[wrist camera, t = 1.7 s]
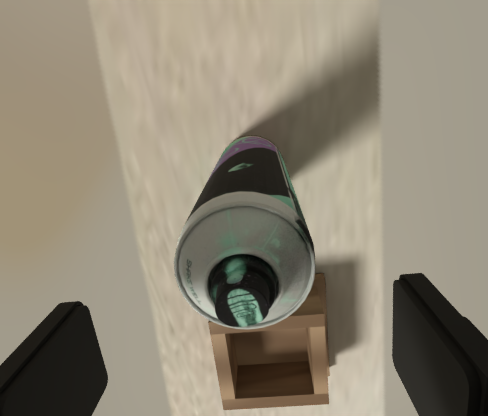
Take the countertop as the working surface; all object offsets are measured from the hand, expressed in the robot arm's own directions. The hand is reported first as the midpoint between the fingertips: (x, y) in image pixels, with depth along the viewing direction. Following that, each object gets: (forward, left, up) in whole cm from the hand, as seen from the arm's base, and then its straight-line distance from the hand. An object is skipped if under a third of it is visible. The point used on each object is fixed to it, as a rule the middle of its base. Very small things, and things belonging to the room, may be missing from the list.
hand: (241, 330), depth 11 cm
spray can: (-1, 0, -21) cm, 21 cm away
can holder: (+15, 0, -20) cm, 26 cm away
